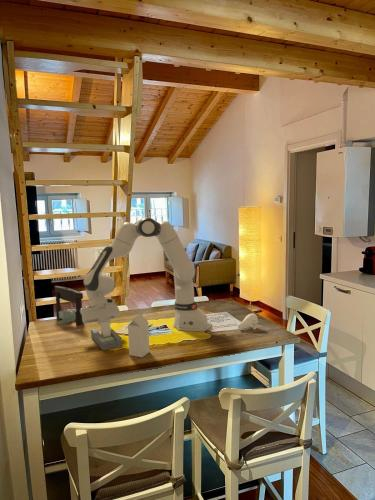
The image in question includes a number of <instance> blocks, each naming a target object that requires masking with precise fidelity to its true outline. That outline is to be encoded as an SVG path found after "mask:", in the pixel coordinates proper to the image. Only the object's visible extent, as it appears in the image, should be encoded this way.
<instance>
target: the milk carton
mask: <svg viewBox="0 0 375 500" xmlns="http://www.w3.org/2000/svg"><path fill="white" fill-rule="evenodd" d="M149 331H150V330H149V321H148V320H147V319H146V318H145V317H144V316H143V313H140V314H138V315H136V316H135V317H133V318H132V319H131V322H130V323H129V324H128V325H127V334H128V355H129V356H133V357H138V358H143V357H144V356H146V355H148V354H149V353H150V332H149Z"/></svg>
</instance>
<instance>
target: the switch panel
mask: <svg viewBox="0 0 375 500" xmlns="http://www.w3.org/2000/svg"><path fill="white" fill-rule="evenodd" d="M110 330H111V336H107V337H103V336H102V335H101V329H98V330H97V329H96V328H91V329H90V335H91V336H90V337H91V338H92V340H93V341H94V342H95V343H96V344H97V345H98V347H99V348H100V349H101V350H102V351H107V350H108V351H109V350H111V349H116V347H117V348H121V347H123V339H122V338H123V337H122V336H120V335H119V334H118V333H117V332H116V331H115V330H114V329H113V328H112V327H111V326H110ZM120 346H121V347H120Z"/></svg>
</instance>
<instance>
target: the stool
mask: <svg viewBox="0 0 375 500" xmlns="http://www.w3.org/2000/svg"><path fill="white" fill-rule="evenodd" d="M54 292H55V303H56V306H55V313H56V315H55V316H56V319H58V321H57V322H58V325H62V324H63V323H64V324H65V323H66V324H67V323H72V322H74V321H75V325H76V326H81V325H84V323H83V321H82V315H81V313H80V309H81V308H82V307H83V298H84V294H83V292H81V291H79V290H76V289H73V288H70V287H65V286H59V285H54ZM61 300H64V301H66V302H70V303H73V304H75V309H74V308H73V309H70V308H68V309H67V308H66V309H64V310H62V305H61Z"/></svg>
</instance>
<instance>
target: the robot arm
mask: <svg viewBox="0 0 375 500" xmlns="http://www.w3.org/2000/svg"><path fill="white" fill-rule="evenodd" d="M139 237H142V238H143V237H144V238H151V237H155V238H157V240H158V241H159V244H160V246H161V247H162V250H163V252H164V254H165V256H166V258H167V260H168V261H169V263H170V265H171V267H172V270H173V281H174V296H175V297H174V298H175V300H174V312H175V315H174V321H173V327H174V328H176V330H177V331H184V332H185V331H186V332H187V331H189V332H190V331H191V332H205V331H208V330H209V329H210V328H211V327H212V322H210V321H209V320H208V317H207V315H206V313H204V311H202V310H201V309H199V307H198V306H199V302H196V301H195V288H194V280H193V278H195V274H196V268H195V266H194V264H193V262H192V261H191V259H190V256H189V255H188V252H187V251H186V249H185V247H184V245H183V243H182V241H181V240H180V237H179V235H178V233H177V232H176V230H175V229H174V227H173V225H172V224H171V223H170V222H169V221H164V220H163V221H160V222H158V221H157V220H155V219H154V218H152V217H148V216H145V217H142V218H140V219H138V220H137V221H136V222H134V223H132V222H128V221H126V222H123V223H122V225H120V227H119V229H118V230H117V232H116V234H115V236H114V238H113V239H112V242H111V243H110V244H109V245H108V246H105V247H103V248H104V249H103V250H102V251H101V252H100V253H99V255H98V257H97V259H96V260H95V262H94V264H93V265H92V267H91V268H90V269H89V271H88V272H87V273H86V274H85V275H84V278H83V282H82V283H83V285H84V287H85V292H86V295H87V298H88V303H89V305H88V306H82V308H81V309H80V313H81V315H82V321H83V323H84V324H91V323H96V322H97V324H98V325H99V326H101V323H100V320H99V318H103V317H109V318H110V319H111V320H114V319H118V318H119V317H120V314H121V312H120V308H119V306H118V305H117V304H116V301H115V299H113V298H107V297H105V296H107V295H109V294H111V293H112V292H113V291H114V290H115V288H116V280H115V278H114V277H113V276H110V275H107V274H102V272H103V271H104V269H105V267H106V265H107V264H108V263H109V262H110V261H111V260H113V259H118V258H123V257H126V256H128V255H129V254H130V252H131V251H132V249H133V247H134V245H135V242H136V240H137V239H138V238H139ZM84 324H83V325H84Z"/></svg>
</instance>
